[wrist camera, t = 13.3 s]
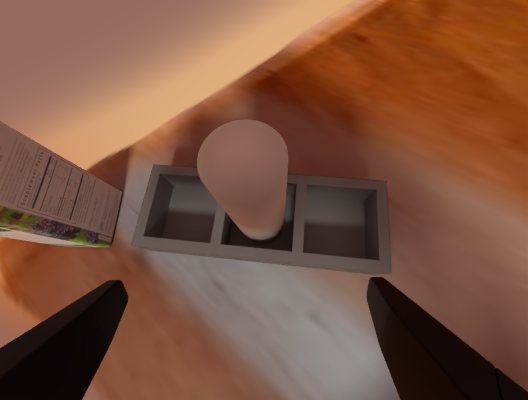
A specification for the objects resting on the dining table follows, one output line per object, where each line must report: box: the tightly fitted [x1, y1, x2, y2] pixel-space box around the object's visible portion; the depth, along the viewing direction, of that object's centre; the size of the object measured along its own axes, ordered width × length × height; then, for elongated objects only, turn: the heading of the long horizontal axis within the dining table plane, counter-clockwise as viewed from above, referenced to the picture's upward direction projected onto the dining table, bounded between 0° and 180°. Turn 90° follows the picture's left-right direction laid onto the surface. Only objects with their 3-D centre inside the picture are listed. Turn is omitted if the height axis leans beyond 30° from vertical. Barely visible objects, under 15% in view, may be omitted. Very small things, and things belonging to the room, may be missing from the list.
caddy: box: [131, 164, 392, 274], centre depth 21 cm, size 20×7×4 cm, turn 84°
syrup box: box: [0, 122, 122, 247], centre depth 17 cm, size 6×6×14 cm
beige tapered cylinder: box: [197, 119, 288, 244], centre depth 16 cm, size 4×4×12 cm
